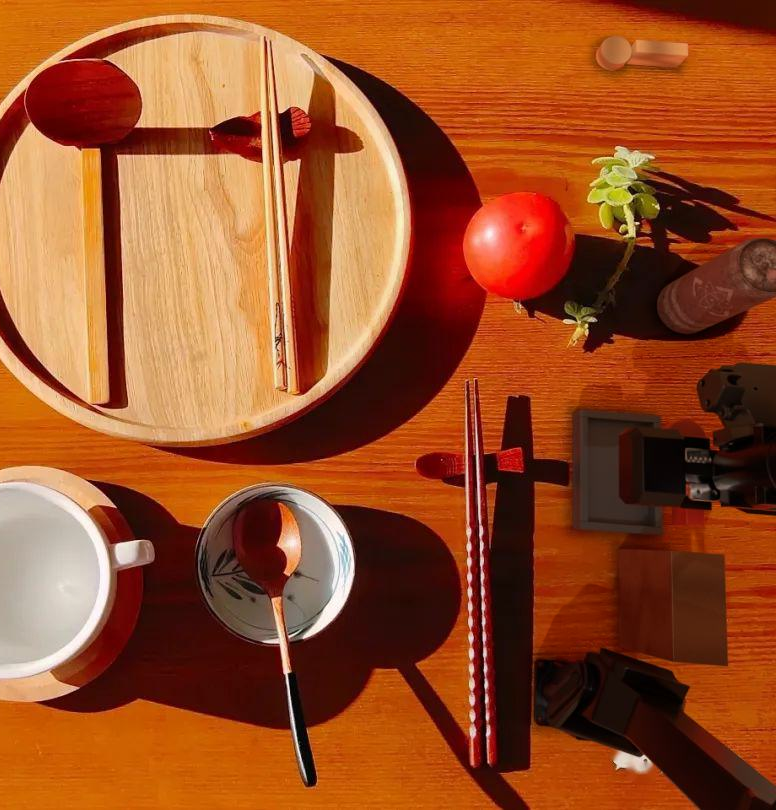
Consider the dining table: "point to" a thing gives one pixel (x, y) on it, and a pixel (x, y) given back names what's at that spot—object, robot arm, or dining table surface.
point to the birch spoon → (640, 53)
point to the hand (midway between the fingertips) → (680, 481)
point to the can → (720, 287)
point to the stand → (673, 605)
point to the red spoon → (679, 514)
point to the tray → (606, 475)
